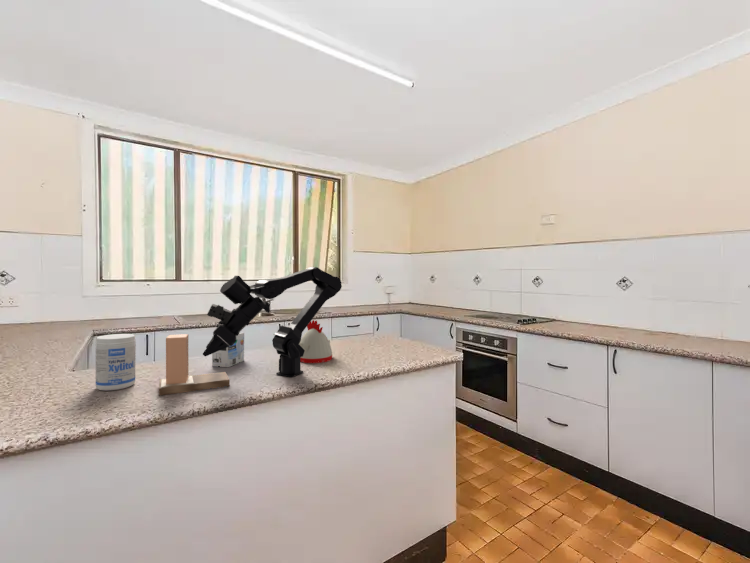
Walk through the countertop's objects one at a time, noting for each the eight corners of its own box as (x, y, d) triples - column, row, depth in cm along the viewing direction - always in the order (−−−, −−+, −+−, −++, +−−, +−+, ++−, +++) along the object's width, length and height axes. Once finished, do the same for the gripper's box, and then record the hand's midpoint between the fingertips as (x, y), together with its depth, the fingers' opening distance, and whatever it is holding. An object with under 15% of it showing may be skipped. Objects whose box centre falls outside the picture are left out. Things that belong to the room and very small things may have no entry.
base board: (225, 378, 117) (225, 371, 116) (229, 386, 109) (229, 378, 109) (159, 386, 108) (159, 378, 108) (158, 395, 100) (158, 387, 100)
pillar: (188, 377, 109) (188, 334, 109) (186, 382, 104) (185, 337, 104) (169, 379, 107) (169, 334, 107) (166, 384, 103) (165, 338, 102)
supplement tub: (111, 393, 101) (111, 340, 101) (87, 389, 104) (86, 337, 103) (143, 383, 110) (143, 334, 110) (120, 379, 113) (119, 332, 113)
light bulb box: (228, 367, 128) (228, 337, 128) (211, 366, 130) (211, 336, 129) (245, 360, 139) (245, 332, 138) (228, 359, 140) (228, 331, 140)
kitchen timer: (314, 353, 153) (314, 317, 152) (339, 358, 145) (339, 320, 144) (288, 359, 142) (288, 320, 141) (313, 365, 134) (314, 324, 133)
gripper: (226, 292, 118) (188, 328, 115) (222, 297, 100) (178, 339, 97) (252, 316, 121) (216, 351, 118) (253, 324, 103) (210, 366, 100)
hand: (205, 351), depth 108 cm, fingers open, 9 cm apart
